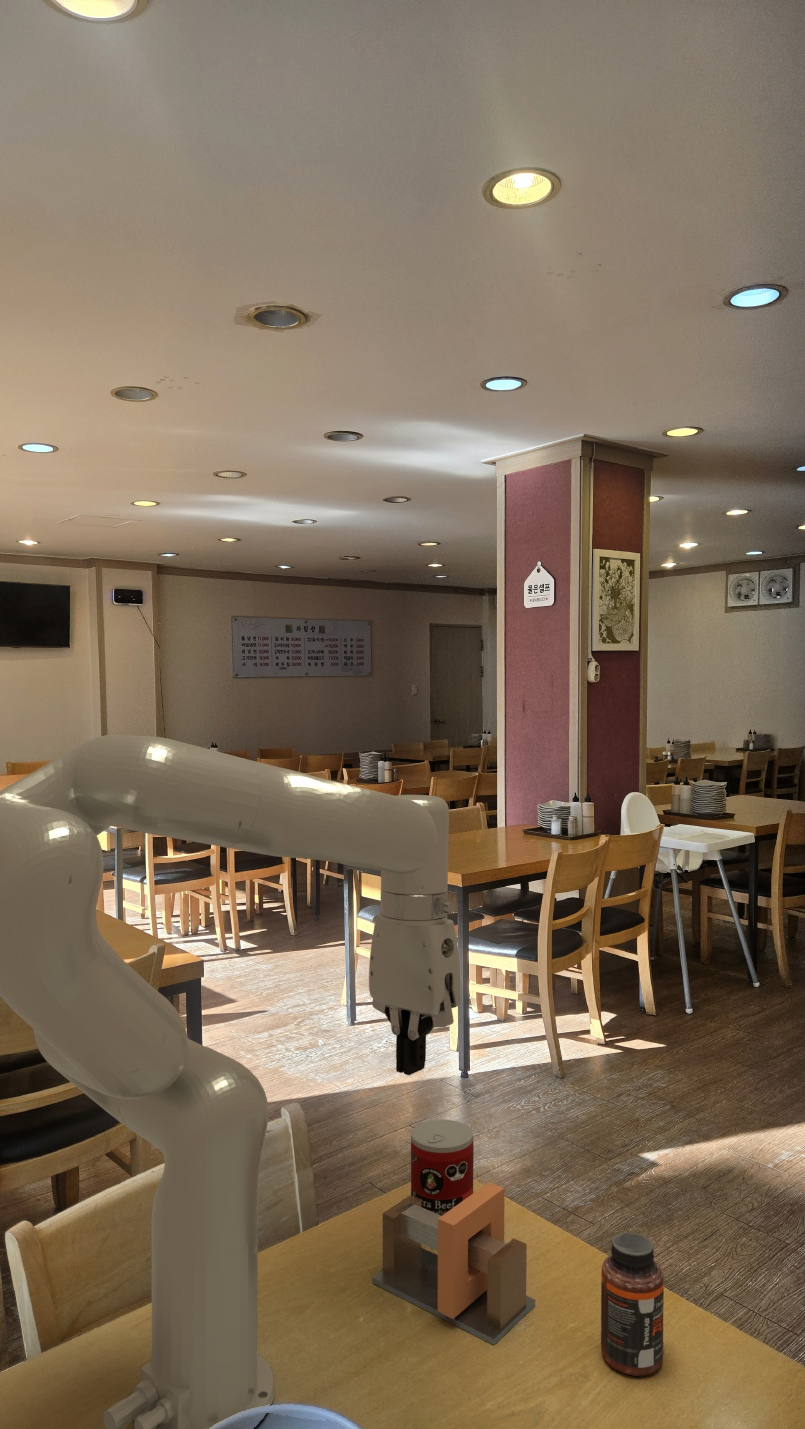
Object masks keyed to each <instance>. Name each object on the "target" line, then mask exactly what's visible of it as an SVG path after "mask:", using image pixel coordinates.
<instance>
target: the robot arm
mask: <svg viewBox="0 0 805 1429" xmlns="http://www.w3.org/2000/svg"><path fill="white" fill-rule="evenodd" d="M449 812H450V809H449V806H448V803H447V801H446V800H444V798H441V797H440V796H435V795H429V794H428V795H427V794H397V795H392V794H389V793H385V792H380V791H377V790H373V789H370V788H365V787H364V788H363V787H360V786H356V785H352V784H346V783H343V782H338V781H334V780H331V779H325V778H322V777H318V776H314V775H312V774H311V775H310V774H308V773H304V772H301V771H296V770H292V769H289V768H285V767H284V768H283V767H279V766H276V765H271V764H268V763H263V762H259V761H256V760H252V759H247V758H242V757H239V756H236V755H232V754H228V753H224V752H221V751H217V750H213V749H209V748H207V747H203V746H202V747H201V746H198V745H194V744H190V743H187V742H183V741H178V740H175V739H171V738H167V737H162V736H161V737H160V736H156V735H155V736H153V735H136V734H135V735H134V734H131V735H130V734H105V735H101V736H98V737H95V738H92V739H91V740H88V741H86V742H84V743H82V744H80V745H78V746H76V747H75V748H72V749H71V750H69V751H67V752H66V753H63V754H62V755H60V756H58V757H57V758H55V759H52V760H51V761H50V762H48V763H46V764H44V765H43V766H41V767H39V768H38V769H36V770H34V771H33V772H31V773H29V774H28V775H26V776H24V777H22V778H20V779H19V780H17V781H15V782H14V783H12V784H10V785H8V786H6V787H5V788H3V789H1V790H0V998H1V999H2V1000H3V1001H4V1002H5V1004H6V1005H7V1006H8V1007H9V1008H10V1009H11V1010H12V1011H13V1012H14V1013H15V1014H17V1015H18V1016H19V1018H20V1019H22V1020H23V1022H25V1023H26V1024H27V1025H28V1026H29V1027H31V1028H32V1030H33V1035H34V1039H35V1040H34V1041H35V1043H36V1046H37V1048H38V1050H39V1052H40V1054H41V1056H42V1057H43V1059H45V1061H46V1062H47V1063H48V1064H49V1065H50V1066H51V1067H52V1068H53V1069H54V1070H56V1071H57V1072H58V1073H60V1074H61V1076H63V1077H64V1078H66V1079H67V1080H68V1081H69V1082H70V1083H71V1084H72V1085H74V1086H75V1087H76V1088H77V1089H78V1090H80V1091H81V1092H82V1093H83V1094H85V1095H86V1096H87V1097H88V1098H89V1099H90V1100H92V1101H93V1102H95V1103H96V1104H97V1105H98V1106H99V1107H100V1108H102V1109H103V1110H104V1111H105V1112H107V1114H109V1115H110V1116H112V1117H113V1118H114V1119H115V1120H117V1121H118V1122H119V1123H121V1124H122V1125H123V1126H125V1127H126V1128H128V1129H129V1130H130V1131H132V1132H134V1133H135V1134H136V1135H137V1136H139V1137H141V1138H143V1139H144V1140H145V1141H147V1142H149V1143H150V1144H151V1145H152V1146H153V1147H155V1148H156V1149H158V1150H160V1152H161V1154H162V1156H163V1160H164V1166H163V1172H162V1174H161V1175H162V1176H161V1178H160V1181H159V1183H158V1186H157V1188H156V1191H155V1194H154V1197H153V1202H152V1203H153V1204H152V1207H151V1208H152V1210H151V1224H150V1227H151V1232H150V1233H151V1235H150V1236H151V1360H150V1361H149V1362H148V1363H146V1364H144V1365H143V1366H142V1367H141V1370H140V1372H141V1373H140V1374H141V1376H140V1377H141V1378H140V1381H139V1383H138V1384H137V1385H135V1387H134V1388H133V1390H132V1394H130V1395H129V1396H127V1397H126V1398H122V1399H121V1400H120V1401H118V1402H116V1403H115V1404H113V1405H112V1406H110V1407H109V1408H108V1409H106V1410H105V1411H104V1412H103V1415H102V1418H103V1419H102V1420H103V1426H104V1428H105V1429H124V1428H126V1427H127V1426H129V1425H130V1424H131V1423H132V1422H133V1421H134V1425H133V1426H134V1429H209V1428H210V1427H212V1426H213V1425H214V1424H216V1423H218V1422H220V1421H222V1420H224V1419H226V1418H228V1417H230V1416H232V1415H234V1414H236V1413H238V1412H241V1411H245V1410H247V1409H251V1408H255V1407H259V1406H265V1405H268V1404H272V1405H273V1402H274V1401H273V1400H274V1399H275V1398H274V1397H275V1375H274V1372H273V1369H272V1368H271V1366H270V1364H269V1363H268V1361H267V1360H266V1358H264V1357H263V1356H262V1355H261V1354H260V1353H258V1306H259V1305H258V1303H259V1302H258V1298H259V1297H258V1294H259V1293H258V1283H259V1282H258V1276H259V1275H258V1272H259V1271H258V1270H259V1267H258V1265H259V1264H258V1263H259V1260H258V1258H259V1257H258V1256H259V1255H258V1254H259V1251H258V1250H259V1249H258V1248H259V1247H258V1245H259V1244H258V1239H259V1236H258V1233H259V1232H258V1231H259V1225H258V1213H259V1212H258V1210H259V1209H258V1207H259V1206H258V1205H259V1204H258V1202H259V1201H258V1200H259V1199H258V1198H259V1196H258V1195H259V1181H260V1180H259V1179H260V1169H261V1168H260V1167H261V1160H262V1156H263V1150H264V1144H265V1140H266V1135H267V1129H268V1124H269V1103H268V1102H269V1101H268V1099H267V1098H268V1097H267V1094H266V1092H265V1089H264V1087H263V1085H262V1083H261V1082H260V1080H259V1078H258V1077H257V1076H256V1075H255V1074H254V1073H253V1072H252V1070H250V1069H249V1068H248V1067H246V1066H245V1065H244V1064H243V1063H240V1062H239V1061H237V1060H236V1059H234V1058H232V1057H230V1056H227V1055H226V1054H223V1053H222V1052H219V1051H217V1050H215V1049H213V1048H211V1047H209V1046H204V1045H202V1044H200V1043H199V1042H196V1041H194V1040H191V1039H190V1038H189V1037H188V1032H187V1029H186V1026H185V1023H184V1021H183V1019H182V1017H181V1015H180V1013H179V1012H178V1011H177V1008H175V1006H174V1005H173V1004H172V1003H171V1002H170V1001H169V999H167V998H166V997H165V996H164V995H163V994H162V993H160V992H159V991H158V990H157V989H156V988H155V987H153V986H152V985H151V984H150V983H149V982H148V981H146V980H145V979H144V978H143V977H142V976H141V975H140V974H139V973H138V972H137V971H136V970H135V969H134V968H133V967H131V965H129V964H128V963H127V962H126V961H125V960H124V959H123V958H122V957H121V956H120V955H119V954H118V953H117V952H116V950H114V948H113V947H112V946H111V945H110V943H109V942H108V941H106V939H105V938H104V936H103V935H102V933H101V932H100V930H99V926H98V922H97V909H98V901H99V896H100V891H101V887H102V883H103V879H104V878H103V876H104V868H105V867H104V855H103V849H102V846H101V842H100V840H99V838H98V835H100V834H101V833H103V832H104V831H106V830H107V829H109V828H110V827H114V828H115V827H116V828H121V829H126V830H131V831H134V832H139V833H143V834H149V835H152V836H153V835H154V836H160V837H165V838H172V839H175V840H183V841H188V842H193V843H197V844H198V843H200V844H204V845H211V846H216V847H222V848H226V849H233V850H237V851H241V852H242V851H243V852H249V853H254V854H261V855H265V856H266V855H267V856H273V857H279V858H288V859H289V858H291V859H306V860H307V859H308V860H316V861H325V862H331V863H336V864H337V863H338V864H341V865H346V866H351V867H355V868H357V867H358V868H363V869H364V868H365V869H370V870H375V871H381V872H380V903H379V904H380V909H379V910H380V911H379V912H380V913H379V914H378V915H376V919H375V922H374V927H373V932H372V937H371V938H372V939H371V944H370V945H371V946H370V954H369V955H370V956H369V965H368V966H369V967H368V989H369V994H370V996H371V998H372V1002H371V1005H372V1008H373V1009H375V1010H376V1011H378V1012H380V1013H381V1014H384V1015H385V1017H386V1018H387V1020H388V1021H389V1024H390V1028H391V1033H392V1034H393V1035H394V1036H396V1038H395V1039H396V1042H395V1045H396V1047H395V1061H396V1062H395V1063H396V1064H395V1065H396V1066H395V1071H396V1072H398V1073H400V1074H402V1073H403V1074H404V1075H406V1076H411V1075H413V1074H415V1073H418V1072H420V1071H423V1070H424V1069H425V1066H426V1060H427V1059H426V1058H427V1057H426V1056H427V1055H426V1054H427V1035H430V1034H431V1033H432V1030H434V1029H435V1028H446V1027H448V1026H449V1027H450V1026H451V1025H453V1024H454V1021H455V1020H454V1015H453V1009H454V1008H457V1007H458V1006H459V1005H460V1003H461V965H460V954H459V953H460V952H459V945H458V944H459V943H458V939H457V933H456V928H455V924H454V921H453V920H452V919H448V914H449V915H452V914H453V913H454V912H455V909H456V908H455V906H456V905H455V903H454V902H453V901H450V900H449V898H448V897H449V896H448V895H449V894H448V893H449V892H448V888H449V886H448V884H449V883H448V882H449V879H448V878H449V838H450V836H449V834H450V833H449V831H450V829H449V828H450V813H449Z"/></svg>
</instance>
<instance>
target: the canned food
mask: <svg viewBox="0 0 805 1429" xmlns="http://www.w3.org/2000/svg"><path fill="white" fill-rule="evenodd" d="M473 1193H474V1133H473V1130H472V1128H470V1127H469V1125H467V1124H465V1123H463V1122H460V1121H456V1120H452V1119H451V1120H450V1119H433V1120H427V1121H424V1122H422V1123H419V1124H417V1125H415V1127H413V1129H412V1130H411V1135H410V1195H411V1196H414V1197H416V1198H419V1199H421V1207H422V1208H424V1209H427V1210H429V1211H431V1212H434V1213H436V1214H438V1215H441V1216H442V1215H444V1214H445V1213H447V1212H448V1211H449V1210H451V1209H452V1208H454V1207H455V1206H456V1205H458V1204H459V1203H461V1202H462V1201H463V1200H465V1199H466V1198H468V1197H469V1196H471V1195H472V1194H473Z"/></svg>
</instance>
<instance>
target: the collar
mask: <svg viewBox="0 0 805 1429" xmlns="http://www.w3.org/2000/svg"><path fill="white" fill-rule="evenodd" d="M480 1230H481V1231H483V1234H485V1235H488V1236H490V1237H492V1238H495V1239H497V1240H499V1241H502V1242H504V1243H505V1187H503V1186H500V1185H498V1184H496V1183H495V1184H494V1183H493V1182H490V1181H489V1182H487V1183H486V1184H484V1185H483V1186H481V1187H480V1188H479V1189H478V1190H476V1191H475V1192H473V1194H472V1195H471V1196H469V1197H468V1198H466V1199H465V1200H463V1201H462V1202H461V1203H459V1204H458V1205H456V1206H455V1207H454V1208H452V1209H451V1210H449V1211H448V1212H447V1213H445V1214H444V1215H442V1216H441V1217H440V1218H438V1251H437V1255H438V1312H440V1313H442V1314H444V1315H446V1316H448V1317H450V1318H452V1319H454V1318H455V1317H456V1316H457V1315H459V1314H460V1313H461V1312H462V1311H463V1310H464V1309H465V1308H467V1307H468V1306H469V1305H470V1304H471V1303H472V1302H473V1301H475V1300H476V1299H477V1298H478V1297H479V1296H480V1295H482V1294H483V1293H484V1292H485V1291H486V1290H487V1274H486V1273H484V1272H482V1271H480V1270H478V1269H475V1268H473V1267H471V1266H470V1267H468V1239H469V1238H471V1237H472V1236H473V1235H475V1234H476V1233H477V1232H479V1231H480Z"/></svg>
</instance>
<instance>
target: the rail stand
mask: <svg viewBox="0 0 805 1429" xmlns="http://www.w3.org/2000/svg"><path fill="white" fill-rule="evenodd" d="M440 1217H441V1215H438V1214H436V1213H434V1212H431V1211H429V1210H427V1209H424V1208H422V1207H421V1199H419V1198H416V1197H414V1196H411V1194H410V1195H408V1196H407V1197H405V1198H404V1199H402V1200H401V1201H399V1202H397V1203H396V1204H394V1205H393V1206H392V1207H390V1208H389V1209H387V1210H385V1211H384V1212H383V1213H382V1270H380V1271H379V1272H378V1273H377V1274H376V1275H373V1277H371V1278H372V1284H374V1285H376V1286H377V1287H380V1288H381V1289H383V1290H385V1291H387V1292H389V1293H391V1294H393V1295H395V1296H397V1297H399V1298H401V1299H403V1300H405V1301H406V1302H408V1303H410V1304H412V1305H415V1306H417V1307H419V1308H420V1309H422V1310H424V1311H426V1312H429V1313H430V1314H432V1315H434V1316H436V1317H437V1318H440V1319H442V1320H444V1321H446V1322H448V1323H449V1324H451V1325H453V1326H456V1327H458V1328H459V1329H461V1330H463V1331H465V1332H467V1333H469V1334H471V1335H472V1336H475V1337H477V1338H479V1339H481V1340H483V1341H485V1342H487V1343H489V1344H491V1345H493V1346H495V1345H496V1344H497V1343H499V1341H500V1340H502V1338H503V1337H505V1335H507V1334H508V1332H510V1330H511V1329H512V1328H513V1327H515V1326H516V1325H517V1324H518V1323H519V1322H520V1321H521V1320H522V1319H523V1318H524V1317H525V1316H527V1314H529V1312H531V1310H533V1308H534V1307H536V1299H534V1298H532V1297H530V1296H528V1295H527V1243H526V1242H524V1241H522V1240H519V1239H516V1238H512V1239H511V1240H509V1242H507V1243H506V1242H505V1241H504V1242H502V1241H499V1240H497V1239H495V1238H492V1237H490V1236H488V1235H485V1234H483V1231H481V1230H480V1231H479V1232H477V1233H476V1234H475V1235H473V1236H472V1237H471V1238H469V1239H468V1267H470V1266H471V1267H473V1268H475V1269H478V1270H480V1271H482V1272H484V1273H486V1274H487V1290H486V1291H485V1292H484V1293H483V1294H482V1295H480V1296H479V1297H478V1298H477V1299H476V1300H475V1301H473V1302H472V1303H471V1304H470V1305H469V1306H468V1307H467V1308H465V1309H464V1310H463V1311H462V1312H461V1313H460V1314H459V1315H457V1316H456V1317H455V1318H454V1319H452V1318H450V1317H448V1316H446V1315H444V1314H442V1313H440V1312H438V1253H437V1254H436V1253H434V1252H432V1251H430V1250H427V1249H425V1248H423V1247H422V1245H423V1246H425V1247H428V1248H430V1249H432V1250H433V1251H437V1252H438V1218H440Z"/></svg>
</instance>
